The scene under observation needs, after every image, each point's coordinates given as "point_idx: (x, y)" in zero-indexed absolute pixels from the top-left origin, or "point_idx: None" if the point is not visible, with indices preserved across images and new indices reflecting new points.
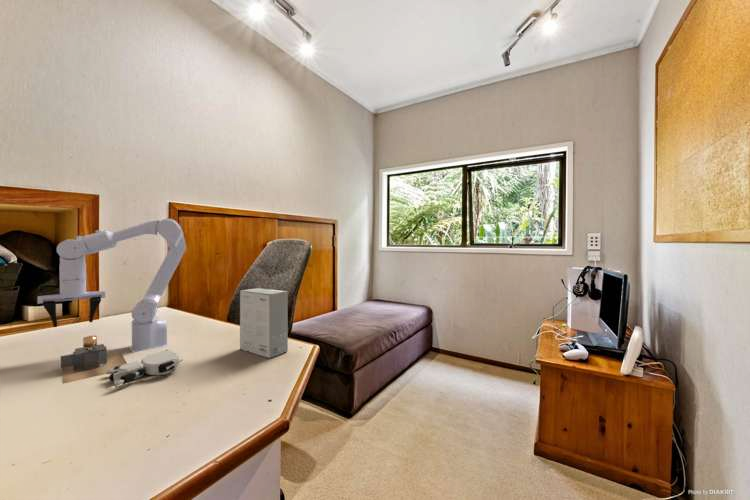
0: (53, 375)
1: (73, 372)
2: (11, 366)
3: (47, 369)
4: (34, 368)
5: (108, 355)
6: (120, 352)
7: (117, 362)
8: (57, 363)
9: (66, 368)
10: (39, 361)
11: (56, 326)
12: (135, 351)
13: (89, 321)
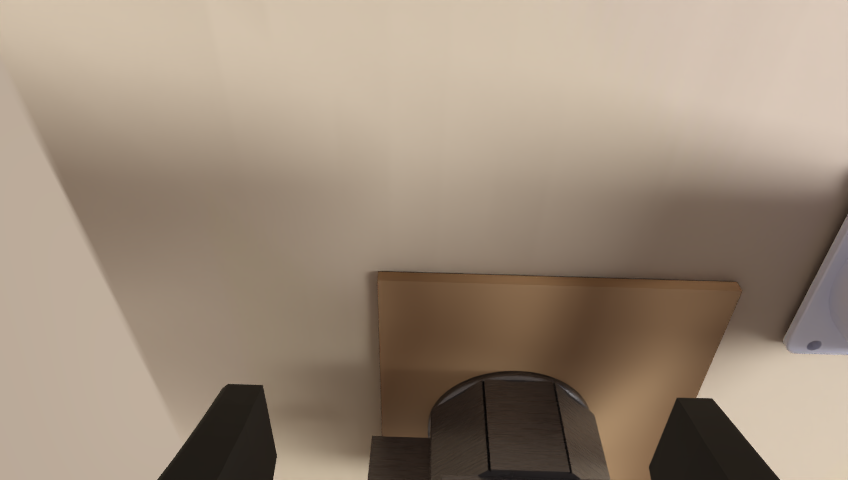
0: (345, 412)
1: None
2: (19, 30)
3: (303, 299)
4: (220, 223)
5: (647, 314)
6: (733, 302)
7: (627, 460)
8: (348, 211)
9: (399, 392)
10: (207, 39)
11: (271, 462)
12: (804, 352)
13: (657, 466)
